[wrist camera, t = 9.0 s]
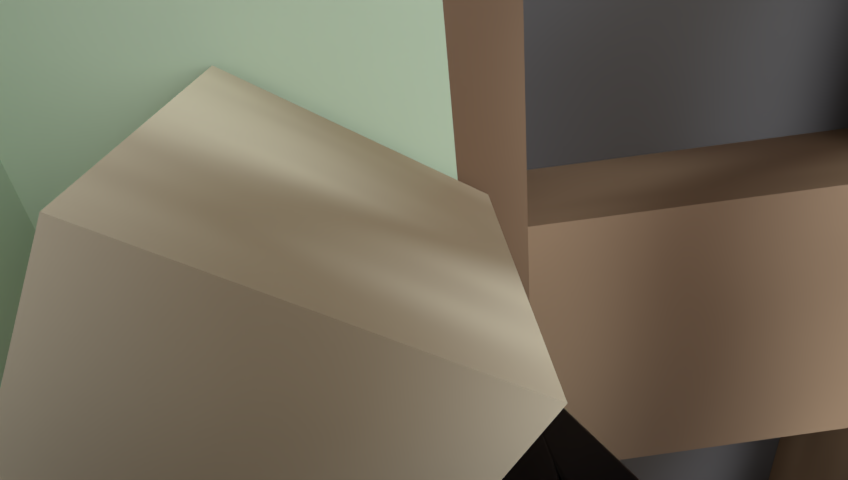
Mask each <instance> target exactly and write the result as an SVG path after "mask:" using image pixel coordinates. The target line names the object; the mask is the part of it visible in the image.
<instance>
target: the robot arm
mask: <svg viewBox="0 0 848 480" xmlns="http://www.w3.org/2000/svg"><path fill="white" fill-rule="evenodd" d="M502 480H639V479H638V478H637V477H636V476H635V475H634V474H633V473H632V472H631V471H630V470H629V469H628V468H627V467H626V466H625V465H624V464H623V463H622V462H620V461H619V460H618V459H617V458H616V457H615V456H614V455H613V454H612V453H611V452H610V451H609V450H608V449H607V448H606V447H605V446H604V445H603V444H601V443H600V442H599V441H598V440H597V439H596V438H595V437H594V436H593V435H592V434H591V433H590V432H589V431H588V430H587V429H586V428H585V427H584V426H582V425H581V424H580V423H579V422H578V421H577V420H576V419H575V418H574V417H573V416H572V415H571V414H570V413H569V412H568V411H567V410H566V409H565V408H563V409H562V410H561V412H560V413H559V414H558V415H557V416H556V417H555V419H554V420H553V421H552V422H551V423H550V424H549V426H548V427H547V428H546V429H545V430H544V431H543V433H542V434H541V435H540V436H539V437H538V438H537V439H536V441H535V442H534V443H533V444H532V445H531V446H530V448H529V449H528V450H527V451H526V452H525V453H524V455H523V456H522V457H521V458H520V459H519V460H518V462H517V463H516V464H515V465H514V466H513V467H512V468H511V470H510V471H509V472H508V473H507V474H506V475H505V477H504V478H503V479H502Z"/></svg>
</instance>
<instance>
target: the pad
mask: <svg viewBox="0 0 848 480" xmlns="http://www.w3.org/2000/svg"><path fill="white" fill-rule="evenodd" d="M212 65H213V66H215V67H217V68H219V69H221V70H223V71H225V72H228V73H230V74H232V75H234V76H236V77H238V78H240V79H243V80H245V81H247V82H249V83H251V84H253V85H255V86H257V87H260V88H262V89H264V90H266V91H268V92H270V93H272V94H275V95H277V96H279V97H281V98H283V99H285V100H287V101H289V102H292V103H294V104H296V105H298V106H300V107H302V108H304V109H307V110H309V111H311V112H313V113H315V114H317V115H319V116H321V117H324V118H326V119H328V120H330V121H332V122H334V123H336V124H339V125H341V126H343V127H345V128H347V129H349V130H351V131H354V132H356V133H358V134H360V135H362V136H364V137H366V138H368V139H371V140H373V141H375V142H377V143H379V144H381V145H383V146H386V147H388V148H390V149H392V150H394V151H396V152H398V153H400V154H403V155H405V156H407V157H409V158H411V159H413V160H415V161H418V162H420V163H422V164H424V165H426V166H428V167H430V168H432V169H435V170H437V171H439V172H441V173H443V174H445V175H447V176H450V177H452V178H454V179H456V180H458V177H457V166H456V154H455V142H454V130H453V118H452V107H451V95H450V83H449V71H448V60H447V48H446V36H445V24H444V12H443V1H442V0H0V387H1V382H2V378H3V373H4V369H5V364H6V360H7V355H8V351H9V347H10V342H11V338H12V333H13V329H14V324H15V320H16V315H17V311H18V306H19V302H20V297H21V293H22V288H23V284H24V279H25V275H26V270H27V266H28V261H29V257H30V253H31V248H32V244H33V239H34V235H35V230H36V226H37V221H38V217H39V212H40V211H41V210H42V209H43V208H45V207H46V206H47V205H48V204H49V203H50V202H52V201H53V200H54V199H55V198H56V197H58V196H59V195H60V194H61V193H62V192H63V191H65V190H66V189H67V188H68V187H69V186H70V185H72V184H73V183H74V182H75V181H76V180H78V179H79V178H80V177H81V176H82V175H83V174H85V173H86V172H87V171H88V170H89V169H91V168H92V167H93V166H94V165H95V164H96V163H98V162H99V161H100V160H101V159H102V158H104V157H105V156H106V155H107V154H108V153H109V152H111V151H112V150H113V149H114V148H115V147H116V146H118V145H119V144H120V143H121V142H122V141H124V140H125V139H126V138H127V137H128V136H129V135H131V134H132V133H133V132H134V131H135V130H137V129H138V128H139V127H140V126H141V125H142V124H144V123H145V122H146V121H147V120H148V119H149V118H151V117H152V116H153V115H154V114H155V113H157V112H158V111H159V110H160V109H161V108H162V107H164V106H165V105H166V104H167V103H168V102H170V101H171V100H172V99H173V98H174V97H175V96H177V95H178V94H179V93H180V92H181V91H183V90H184V89H185V88H186V87H187V86H188V85H190V84H191V83H192V82H193V81H194V80H195V79H197V78H198V77H199V76H200V75H201V74H203V73H204V72H205V71H206V70H207V69H208V68H210V67H211V66H212Z"/></svg>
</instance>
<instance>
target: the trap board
mask: <svg viewBox="0 0 848 480" xmlns="http://www.w3.org/2000/svg"><path fill="white" fill-rule="evenodd" d="M442 1H443V12H444V24H445V36H446V48H447V60H448V71H449V83H450V95H451V107H452V118H453V130H454V142H455V154H456V166H457V177H458V181H460V182H462V183H465V184H467V185H469V186H471V187H473V188H475V189H477V190H479V191H482V192H484V193H486V194H488V196H489V198H490V201H491V203H492V206H493V209H494V211H495V214H496V217H497V219H498V222H499V224H500V227H501V230H502V232H503V235H504V238H505V240H506V243H507V245H508V248H509V251H510V253H511V256H512V259H513V261H514V264H515V266H516V269H517V272H518V274H519V277H520V280H521V282H522V285H523V287H524V290H525V293H526V295H527V298H528V301H529V303H530V306H531V308H532V311H533V314H534V316H535V319H536V322H537V324H538V327H539V329H540V332H541V335H542V337H543V340H544V343H545V345H546V348H547V351H548V353H549V356H550V358H551V361H552V364H553V366H554V369H555V372H556V374H557V377H558V379H559V382H560V385H561V387H562V390H563V393H564V395H565V398H566V400H567V403H568V404H567V405H566V406H565V407H564V408H565V409H566V410H567V411H568V412H569V413H570V414H571V415H572V416H573V417H574V418H575V419H576V420H577V421H578V422H579V423H580V424H581V425H582V426H584V427H585V428H586V429H587V430H588V431H589V432H590V433H591V434H592V435H593V436H594V437H595V438H596V439H597V440H598V441H599V442H600V443H601V444H603V445H604V446H605V447H606V448H607V449H608V450H609V451H610V452H611V453H612V454H613V455H614V456H615V457H616V458H617V459H618V460H619V461H620V462H622V463H623V464H624V465H625V466H626V467H627V468H628V469H629V470H630V471H631V472H632V473H633V474H634V475H635V476H636V477H637V478H638V479H639V480H848V0H442Z"/></svg>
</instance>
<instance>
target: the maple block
mask: <svg viewBox="0 0 848 480" xmlns="http://www.w3.org/2000/svg"><path fill="white" fill-rule="evenodd" d="M567 404H568V403H567V400H566V398H565V395H564V393H563V390H562V387H561V385H560V382H559V379H558V377H557V374H556V372H555V369H554V366H553V364H552V361H551V358H550V356H549V353H548V351H547V348H546V345H545V343H544V340H543V337H542V335H541V332H540V329H539V327H538V324H537V322H536V319H535V316H534V314H533V311H532V308H531V306H530V303H529V301H528V298H527V295H526V293H525V290H524V287H523V285H522V282H521V280H520V277H519V274H518V272H517V269H516V266H515V264H514V261H513V259H512V256H511V253H510V251H509V248H508V245H507V243H506V240H505V238H504V235H503V232H502V230H501V227H500V224H499V222H498V219H497V217H496V214H495V211H494V209H493V206H492V203H491V201H490V198H489V196H488V194H486V193H484V192H482V191H479V190H477V189H475V188H473V187H471V186H469V185H467V184H465V183H462V182H460V181H458V180H456V179H454V178H452V177H450V176H447V175H445V174H443V173H441V172H439V171H437V170H435V169H432V168H430V167H428V166H426V165H424V164H422V163H420V162H418V161H415V160H413V159H411V158H409V157H407V156H405V155H403V154H400V153H398V152H396V151H394V150H392V149H390V148H388V147H386V146H383V145H381V144H379V143H377V142H375V141H373V140H371V139H368V138H366V137H364V136H362V135H360V134H358V133H356V132H354V131H351V130H349V129H347V128H345V127H343V126H341V125H339V124H336V123H334V122H332V121H330V120H328V119H326V118H324V117H321V116H319V115H317V114H315V113H313V112H311V111H309V110H307V109H304V108H302V107H300V106H298V105H296V104H294V103H292V102H289V101H287V100H285V99H283V98H281V97H279V96H277V95H275V94H272V93H270V92H268V91H266V90H264V89H262V88H260V87H257V86H255V85H253V84H251V83H249V82H247V81H245V80H243V79H240V78H238V77H236V76H234V75H232V74H230V73H228V72H225V71H223V70H221V69H219V68H217V67H215V66H213V65H212V66H211V67H210V68H208V69H207V70H206V71H205V72H204V73H203V74H201V75H200V76H199V77H198V78H197V79H195V80H194V81H193V82H192V83H191V84H190V85H188V86H187V87H186V88H185V89H184V90H183V91H181V92H180V93H179V94H178V95H177V96H175V97H174V98H173V99H172V100H171V101H170V102H168V103H167V104H166V105H165V106H164V107H162V108H161V109H160V110H159V111H158V112H157V113H155V114H154V115H153V116H152V117H151V118H149V119H148V120H147V121H146V122H145V123H144V124H142V125H141V126H140V127H139V128H138V129H137V130H135V131H134V132H133V133H132V134H131V135H129V136H128V137H127V138H126V139H125V140H124V141H122V142H121V143H120V144H119V145H118V146H116V147H115V148H114V149H113V150H112V151H111V152H109V153H108V154H107V155H106V156H105V157H104V158H102V159H101V160H100V161H99V162H98V163H96V164H95V165H94V166H93V167H92V168H91V169H89V170H88V171H87V172H86V173H85V174H83V175H82V176H81V177H80V178H79V179H78V180H76V181H75V182H74V183H73V184H72V185H70V186H69V187H68V188H67V189H66V190H65V191H63V192H62V193H61V194H60V195H59V196H58V197H56V198H55V199H54V200H53V201H52V202H50V203H49V204H48V205H47V206H46V207H45V208H43V209H42V210H41V211H40V212H39V217H38V221H37V226H36V230H35V235H34V239H33V244H32V248H31V253H30V257H29V261H28V266H27V270H26V275H25V279H24V284H23V288H22V293H21V297H20V302H19V306H18V311H17V315H16V320H15V324H14V329H13V333H12V338H11V342H10V347H9V351H8V355H7V360H6V364H5V369H4V373H3V378H2V382H1V387H0V480H502V479H503V478H504V477H505V475H506V474H507V473H508V472H509V471H510V470H511V468H512V467H513V466H514V465H515V464H516V463H517V462H518V460H519V459H520V458H521V457H522V456H523V455H524V453H525V452H526V451H527V450H528V449H529V448H530V446H531V445H532V444H533V443H534V442H535V441H536V439H537V438H538V437H539V436H540V435H541V434H542V433H543V431H544V430H545V429H546V428H547V427H548V426H549V424H550V423H551V422H552V421H553V420H554V419H555V417H556V416H557V415H558V414H559V413H560V412H561V410H562V409H563V408H564V407H565V406H566V405H567Z"/></svg>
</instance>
